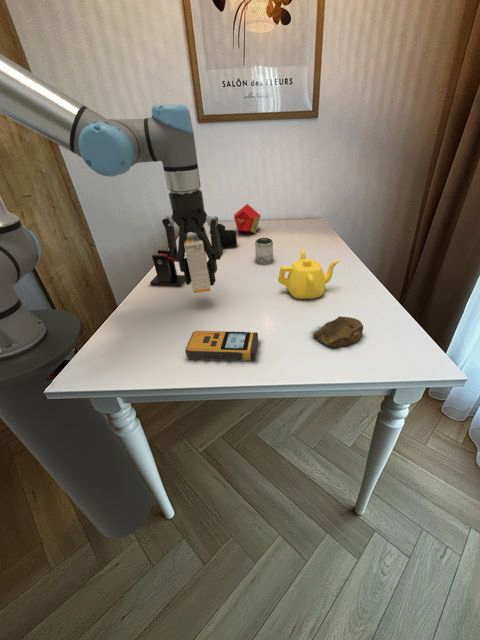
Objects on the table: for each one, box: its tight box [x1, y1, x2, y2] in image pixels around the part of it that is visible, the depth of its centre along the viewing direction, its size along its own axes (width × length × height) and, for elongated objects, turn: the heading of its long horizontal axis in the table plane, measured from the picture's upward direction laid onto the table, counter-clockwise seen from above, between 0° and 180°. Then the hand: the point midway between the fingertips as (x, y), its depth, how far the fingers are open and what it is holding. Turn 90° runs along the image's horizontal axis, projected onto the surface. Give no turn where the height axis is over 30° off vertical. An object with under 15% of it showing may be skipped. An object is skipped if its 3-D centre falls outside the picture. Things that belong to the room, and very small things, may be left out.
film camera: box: [209, 223, 238, 251], centre depth 122 cm, size 15×10×9 cm, turn 1°
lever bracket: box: [149, 249, 186, 288], centre depth 99 cm, size 10×6×10 cm, turn 82°
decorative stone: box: [312, 316, 364, 349], centre depth 74 cm, size 10×9×4 cm
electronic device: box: [185, 330, 259, 362], centre depth 71 cm, size 8×16×3 cm, turn 85°
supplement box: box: [184, 233, 211, 294], centre depth 82 cm, size 8×5×13 cm, turn 11°
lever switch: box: [157, 253, 186, 263], centre depth 96 cm, size 14×5×2 cm, turn 82°
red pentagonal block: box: [233, 203, 262, 234], centre depth 134 cm, size 12×12×15 cm
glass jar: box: [254, 237, 274, 265], centre depth 110 cm, size 6×6×8 cm
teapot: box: [277, 248, 341, 300], centre depth 91 cm, size 14×13×10 cm
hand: (201, 282), depth 85 cm, fingers closed on supplement box, 6 cm apart
